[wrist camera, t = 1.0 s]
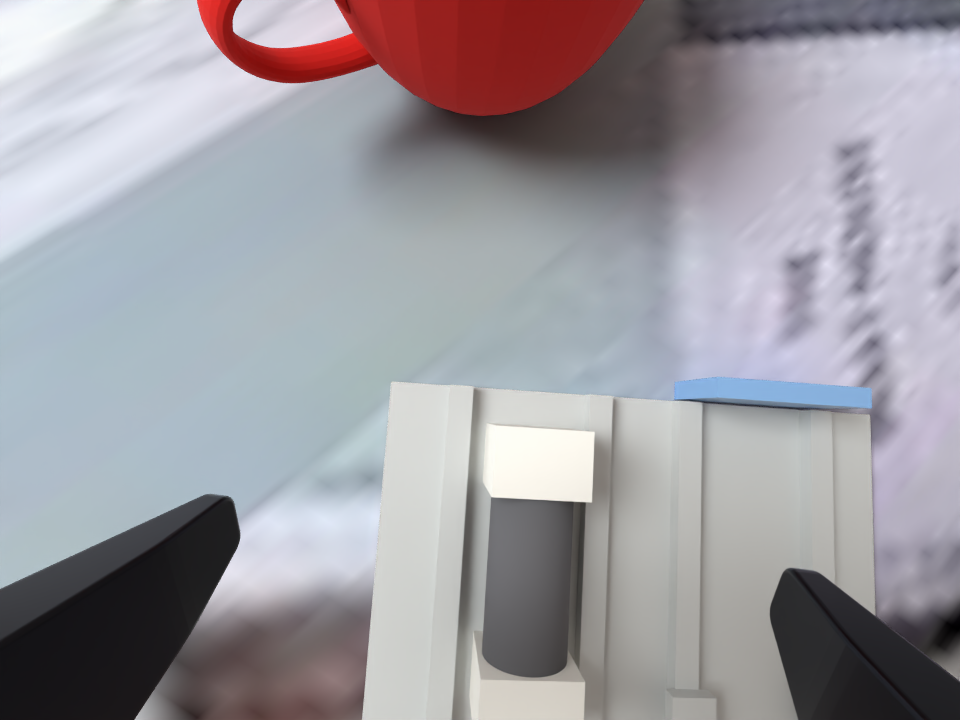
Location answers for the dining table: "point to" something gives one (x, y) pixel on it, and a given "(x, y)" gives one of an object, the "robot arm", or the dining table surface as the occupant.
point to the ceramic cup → (445, 47)
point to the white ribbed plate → (626, 542)
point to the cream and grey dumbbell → (530, 574)
